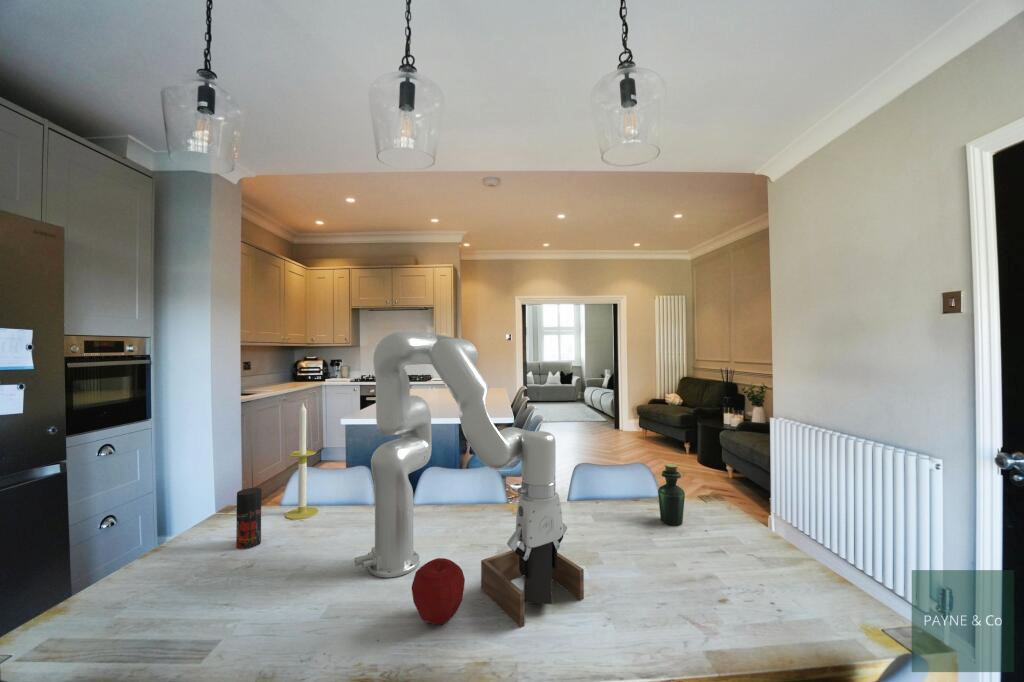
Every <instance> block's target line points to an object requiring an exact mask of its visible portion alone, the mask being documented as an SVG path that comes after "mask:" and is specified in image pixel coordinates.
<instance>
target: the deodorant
mask: <svg viewBox="0 0 1024 682" xmlns="http://www.w3.org/2000/svg"><path fill="white" fill-rule="evenodd" d="M235 527H236V531H235V532H236V535H235V536H236V538H235V539H236V540H235V546H236V547H235V548H236V549H238V550H248V549H253V548H256V547H258V546H259V545H260V544H261V543H262V488H260V487H248V488H244V489H240V490H239V491H237V492H236V526H235Z"/></svg>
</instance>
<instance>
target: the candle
mask: <svg viewBox="0 0 1024 682" xmlns="http://www.w3.org/2000/svg"><path fill="white" fill-rule="evenodd" d="M298 411H299V413H298V415H299V419H298V420H299V424H298V425H299V429H298V432H299V434H298V435H299V436H298V439H299V440H298V449H299V450H294V451H291V452H289V453H288V456H289V457H290V458H298V462H297V463H298V465H297V466H298V469H297V471H298V475H297V476H298V479H297V480H298V485H297V487H298V488H297V489H298V490H297V491H298V492H297V500H298V501H297V508H294V509H292V510H289V511H288V512H287V513H285V515H284V516H285V518H286V519H288V520H291V521H292V520H303V519H308V518H310V517H313V516H315V515H317V514H318V513H319V508H317V507H315V506H307V484H308V483H307V482H308V481H307V476H308V475H307V471H308V470H307V469H308V466H307V464H308V463H307V459H308V458H307V457H310V456H313V455H316V454H317V450H314V449H307V408H306V407H305V404H304V403H301V407H300V408H299V410H298Z"/></svg>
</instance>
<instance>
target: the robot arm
mask: <svg viewBox="0 0 1024 682" xmlns="http://www.w3.org/2000/svg"><path fill="white" fill-rule="evenodd" d="M372 359H373V360H372V363H373V370H374V377H375V379H374V380H375V417H376V419H375V420H376V427H377V430H378V431H379V432H380V434H382V435H383V436H386V437H394V436H399V435H401V437H400V438H395V439H393V440H389V441H386V442H384V443H383V444H380V445H379V446H378V447H377V448H376V449H375V450H374V451H373V453H372V456H371V459H370V469H371V473H372V474H371V475H372V478H373V484H374V546H373V547H371V551H370V552H368V553H367V554H365V555H359V556H356V557H354V564H355V567H358V566H360V565H362V567H363V569H364V568H368V569H367V570H368V571H369V573H370V574H371V575H373V576H375V577H379V578H396V577H400V576H404V575H406V574H409V573H411V572H412V571H414V570H416V568H417V567H418V566H419V563H420V555H419V553H417V551H415V550H414V491H413V486H412V484H411V482H410V480H409V474H411V473H413V472H415V471H417V470H420V469H422V468H423V467H425V466H426V465H427V464H428V463H429V462H430V459H431V457H432V452H433V451H432V450H433V449H432V447H433V446H432V443H433V441H432V437H433V436H432V414H431V409H430V406H429V404H428V403H427V401H426V400H425V399H424V398H423V397H421V396H419V395H412V394H411V393H410V392H411V388H410V387H411V383H410V377H409V374H408V372H407V371H406V369H405V367H407V366H410V365H411V366H413V365H417V366H418V365H431V366H432V368H434V371H436V373H437V374H438V376H439V377H440V379H441V380H442V383H444V385H445V387H446V389H447V390H448V391H449V394H451V397H452V399H454V401H455V403H456V404H457V407H458V416H459V421H460V426H461V430H462V433H463V435H464V437H465V439H466V441H467V443H468V445H469V446H470V448H471V449H472V450H473V452H474V454H475V455H476V457H477V459H478V460H479V461H480V462H481V463H482V464H483V465H484V466H486V467H488V468H489V469H492V470H501V469H504V468H506V467H507V466H509V465H511V464H512V463H514V462H516V461H521V481H520V482H521V485H520V487H517V492H518V494H519V497H518V501H517V502H518V503H517V509H516V520H515V531H514V532H513V534H512V536H510V538H509V539H508V541H507V542H506V544H507V545H506V546H508V547H509V548H510V549H511V550H513V551H514V552H515V553H516V554H517V555H518V556H519V570H520V573H521V574H522V575H524V573H525V576H526V578H527V579H528V578H530V577H531V560H530V559H529V558H528V557H529V554H530V551H531V548H535V547H539V546H542V545H545V544H548V543H550V542H552V567H553V568H557V553H558V550H559V549H560V547H561V545H560V544H561V542H562V541H563V539H564V536H565V534H566V533H567V530H568V526H567V525H566V524H565V523H564V522H563V512H562V505H561V500H560V499H561V498H560V495H559V493H558V492H556V489H557V487H556V486H557V485H556V472H557V471H556V469H557V468H556V446H557V445H556V438H555V436H554V434H553V433H551V432H550V431H549V432H548V431H542V430H533V431H531V430H527V429H523V428H520V427H519V428H518V427H515V426H514V427H513V426H509V427H505V428H503V429H500V430H498V429H497V427H496V426H495V423H494V422H493V421H492V419H491V417H490V415H489V413H488V410H487V405H486V400H487V395H488V391H489V385H488V383H487V381H486V379H485V378H484V377H483V375H482V374H481V372H480V371H479V369H478V368H477V367H476V365H477V363H478V359H479V353H478V350H477V348H476V346H475V345H474V344H473V343H472V342H471V341H470V340H467V339H466V338H465V339H464V338H460V337H459V338H458V337H451V336H447V335H441V334H436V333H431V332H420V331H419V332H416V331H397V332H392V333H390V334H387V335H385V336H384V337H383V338H381V340H379V342H377V345H376V347H375V349H374V353H373V358H372ZM518 543H519V545H518ZM525 546H526V548H525V551H523V550H524V547H525Z"/></svg>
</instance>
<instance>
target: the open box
mask: <svg viewBox="0 0 1024 682" xmlns="http://www.w3.org/2000/svg"><path fill="white" fill-rule="evenodd" d="M523 551H525V547H524V550H523ZM480 564H481V565H480V570H481V571H480V572H481V573H480V587H481V588H480V589H481V590H482V591H483V592H484V593H485V594H486V595H487V596H488V597H489V598H490V599H491V600H492V601H493V602H494V603H495V604H496V605H497V606H498V607H499V608H500V609H501V610H502V611H503V612H504V613H505V614H506V615H507V616H508V617H509V618H510V619H511V620H512V621H513V622H514V623H515V624H516V625H517V626H518V627H519V628H523V627H525V624H526V623H525V621H526V620H525V612H526V611H525V610H526V609H525V602H524V590H522V589H520V588H519V587H518V586H517V585H516V584H515V583H513V580H516V579H518V578H522V577H524V575H522V574H521V573H520V570H519V556H518V555H517V554H516V553H515V552H514V551H513V550H512V549H511V550H509V551H506V552H502V553H499V554H496V555H493V556H490V557H486V558H484V559H481V560H480ZM584 572H585V569H584V568H582V567H581V566H579V565H577V563H574V562H573V561H571V560H569V558H566V557H565V556H563V555H562V554H560V553H559V552H557V568H553V567H552V582H555V583H556V584H558V585H559V586H560V587H562V588H563V589H565V590H566V591H567V592H568V593H569V594H571V595H572V596H573V597H575V598H577V600H579V601H582V600H584V599H585V597H584V596H585V593H584V592H585V591H584V590H585V585H584V581H585V578H584V577H585V576H584V575H585V574H584Z"/></svg>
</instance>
